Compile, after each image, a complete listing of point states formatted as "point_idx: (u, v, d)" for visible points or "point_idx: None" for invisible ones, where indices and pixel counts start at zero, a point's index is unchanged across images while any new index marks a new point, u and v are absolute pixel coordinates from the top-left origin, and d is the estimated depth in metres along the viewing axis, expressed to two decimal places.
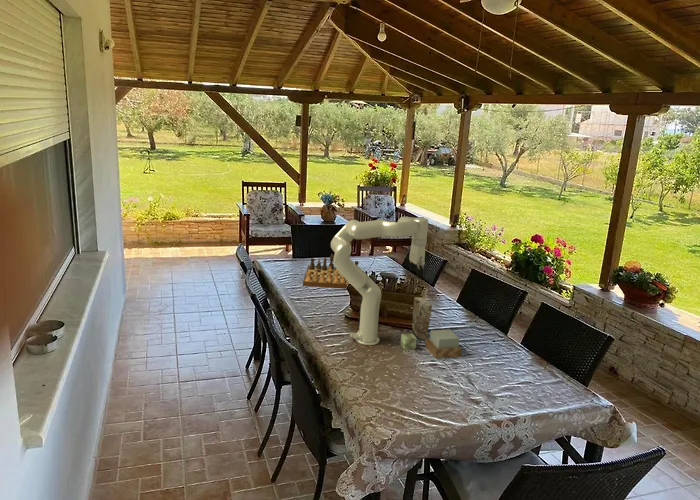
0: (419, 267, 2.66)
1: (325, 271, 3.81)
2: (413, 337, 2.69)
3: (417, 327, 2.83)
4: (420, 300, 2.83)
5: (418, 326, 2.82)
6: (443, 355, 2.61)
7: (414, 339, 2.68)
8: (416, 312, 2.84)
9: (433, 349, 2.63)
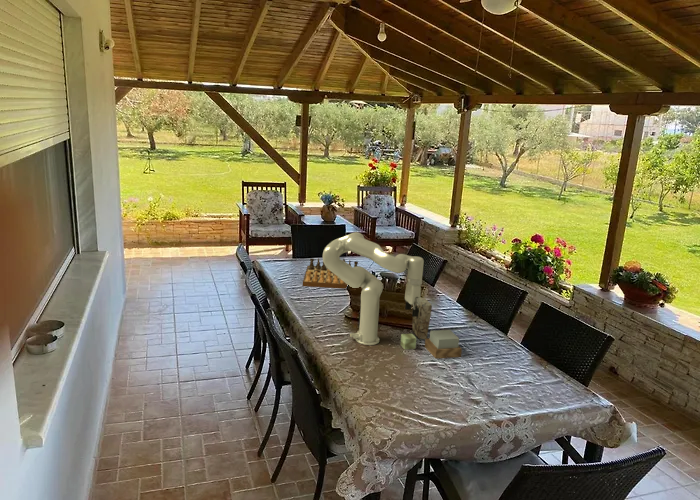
0: (415, 307, 2.60)
1: (324, 271, 3.81)
2: (413, 337, 2.69)
3: (417, 327, 2.83)
4: (420, 300, 2.83)
5: (418, 326, 2.82)
6: (443, 355, 2.61)
7: (414, 339, 2.68)
8: None
9: (433, 349, 2.63)
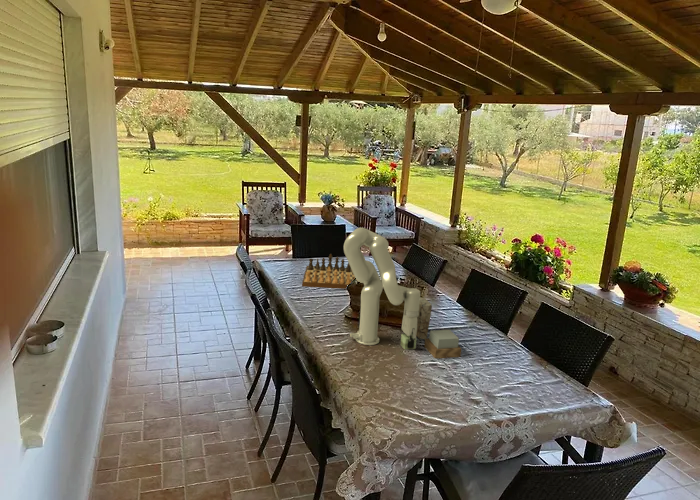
0: (410, 340, 2.66)
1: (324, 271, 3.80)
2: None
3: (417, 327, 2.83)
4: (420, 300, 2.83)
5: (418, 326, 2.82)
6: (442, 355, 2.61)
7: None
8: None
9: (432, 349, 2.63)
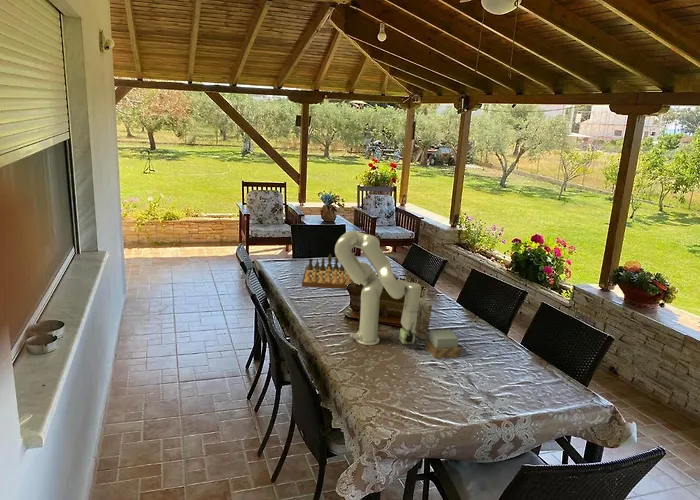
0: (409, 334, 2.65)
1: (323, 271, 3.80)
2: None
3: (417, 327, 2.83)
4: (420, 300, 2.83)
5: (418, 326, 2.82)
6: (442, 355, 2.61)
7: None
8: None
9: (432, 349, 2.63)
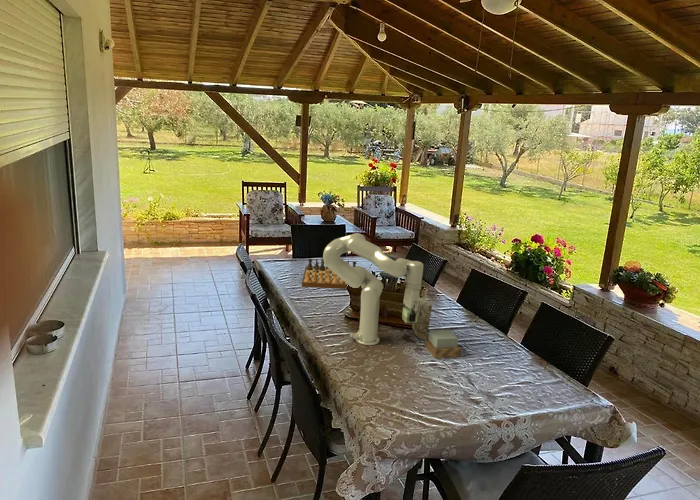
0: (412, 313, 2.62)
1: (323, 271, 3.80)
2: None
3: (417, 327, 2.83)
4: (420, 300, 2.83)
5: (418, 326, 2.82)
6: (442, 355, 2.61)
7: (416, 313, 2.65)
8: None
9: (433, 349, 2.62)
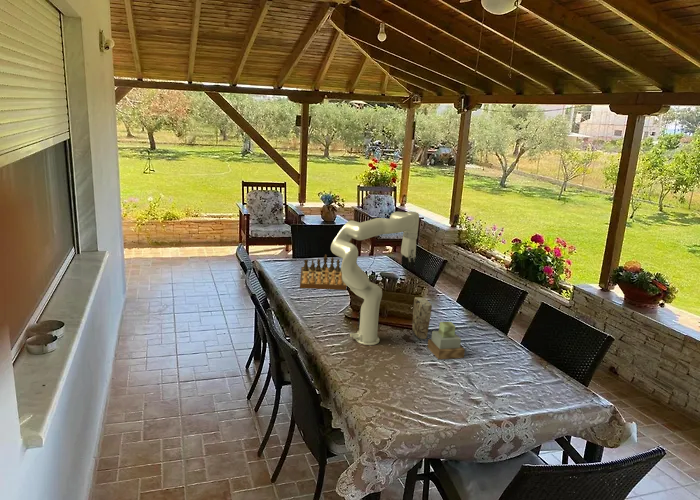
0: (410, 260, 2.73)
1: (320, 272, 3.77)
2: (452, 325, 2.62)
3: (417, 327, 2.83)
4: (420, 300, 2.83)
5: (418, 326, 2.82)
6: (446, 356, 2.60)
7: (453, 327, 2.62)
8: (416, 312, 2.84)
9: (436, 350, 2.62)
